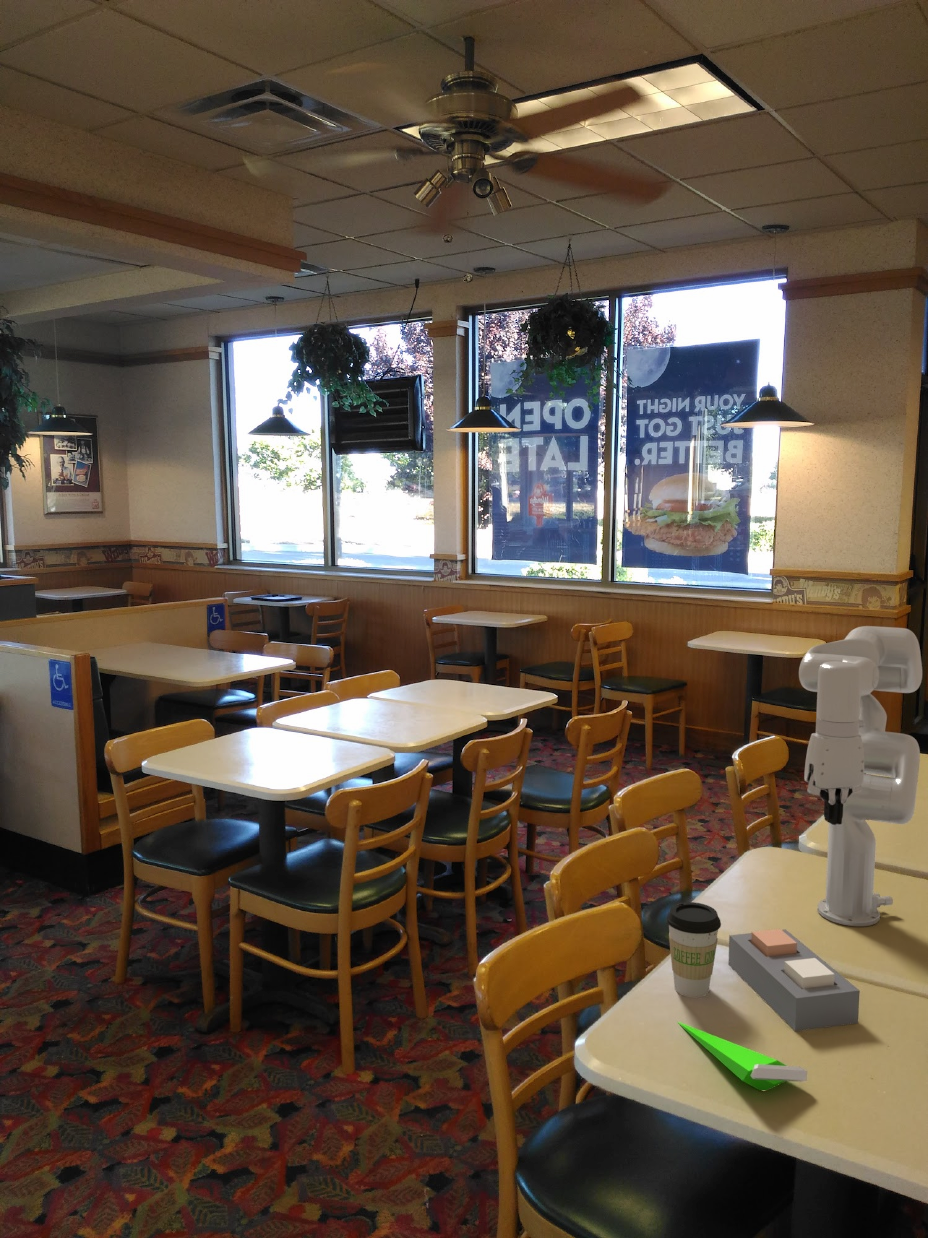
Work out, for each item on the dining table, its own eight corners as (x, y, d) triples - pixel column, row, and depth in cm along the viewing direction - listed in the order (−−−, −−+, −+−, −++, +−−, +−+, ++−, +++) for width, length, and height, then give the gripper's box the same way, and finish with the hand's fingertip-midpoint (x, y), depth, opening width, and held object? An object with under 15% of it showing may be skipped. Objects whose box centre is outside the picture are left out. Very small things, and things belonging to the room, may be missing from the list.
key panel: (784, 958, 189) (785, 929, 188) (858, 1023, 166) (859, 990, 165) (728, 964, 187) (729, 935, 186) (795, 1031, 163) (796, 998, 163)
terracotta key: (778, 958, 185) (780, 929, 185) (795, 973, 179) (796, 943, 179) (750, 961, 184) (751, 932, 183) (766, 976, 178) (767, 946, 177)
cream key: (813, 989, 174) (815, 958, 173) (832, 1006, 168) (834, 974, 167) (783, 993, 172) (784, 961, 172) (801, 1010, 167) (803, 977, 166)
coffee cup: (688, 1008, 171) (690, 928, 169) (653, 983, 180) (655, 907, 178) (730, 994, 175) (732, 916, 174) (694, 971, 184) (696, 896, 182)
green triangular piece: (646, 1040, 164) (750, 1099, 142) (651, 1008, 165) (756, 1061, 143) (696, 1044, 169) (805, 1101, 147) (701, 1013, 170) (810, 1065, 147)
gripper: (860, 721, 185) (856, 813, 187) (790, 725, 181) (786, 819, 184) (885, 730, 177) (880, 826, 180) (812, 735, 174) (808, 832, 177)
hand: (832, 822), depth 182 cm, fingers closed
